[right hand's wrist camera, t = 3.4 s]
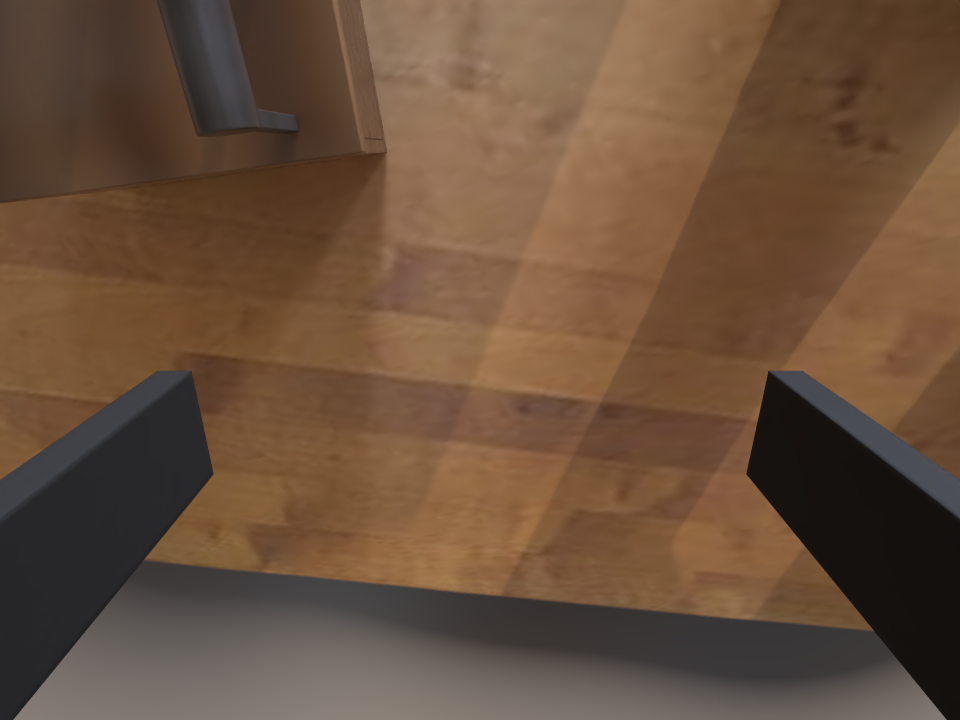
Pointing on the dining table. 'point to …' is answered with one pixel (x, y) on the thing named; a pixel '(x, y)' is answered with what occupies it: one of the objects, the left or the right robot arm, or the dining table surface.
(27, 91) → the lid
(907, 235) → the dining table surface
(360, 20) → the chest
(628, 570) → the dining table surface
